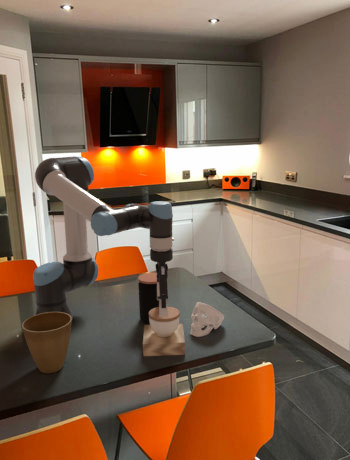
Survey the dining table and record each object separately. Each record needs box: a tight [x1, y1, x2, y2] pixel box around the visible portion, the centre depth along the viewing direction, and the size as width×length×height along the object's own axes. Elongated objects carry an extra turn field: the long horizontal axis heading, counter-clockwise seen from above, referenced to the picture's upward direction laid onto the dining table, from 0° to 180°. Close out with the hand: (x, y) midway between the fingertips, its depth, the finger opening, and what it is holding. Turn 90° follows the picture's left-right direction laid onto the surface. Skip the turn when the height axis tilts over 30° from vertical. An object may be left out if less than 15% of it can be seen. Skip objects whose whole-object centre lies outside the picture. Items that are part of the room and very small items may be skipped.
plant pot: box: [21, 312, 73, 374], centre depth 128 cm, size 15×15×16 cm
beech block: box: [142, 323, 186, 357], centre depth 141 cm, size 14×14×5 cm
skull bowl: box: [189, 301, 225, 338], centre depth 152 cm, size 10×14×12 cm
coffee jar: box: [137, 272, 159, 325], centre depth 160 cm, size 11×11×18 cm
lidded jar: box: [149, 306, 181, 337], centre depth 140 cm, size 11×11×9 cm
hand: (162, 307), depth 139 cm, fingers open, 13 cm apart
